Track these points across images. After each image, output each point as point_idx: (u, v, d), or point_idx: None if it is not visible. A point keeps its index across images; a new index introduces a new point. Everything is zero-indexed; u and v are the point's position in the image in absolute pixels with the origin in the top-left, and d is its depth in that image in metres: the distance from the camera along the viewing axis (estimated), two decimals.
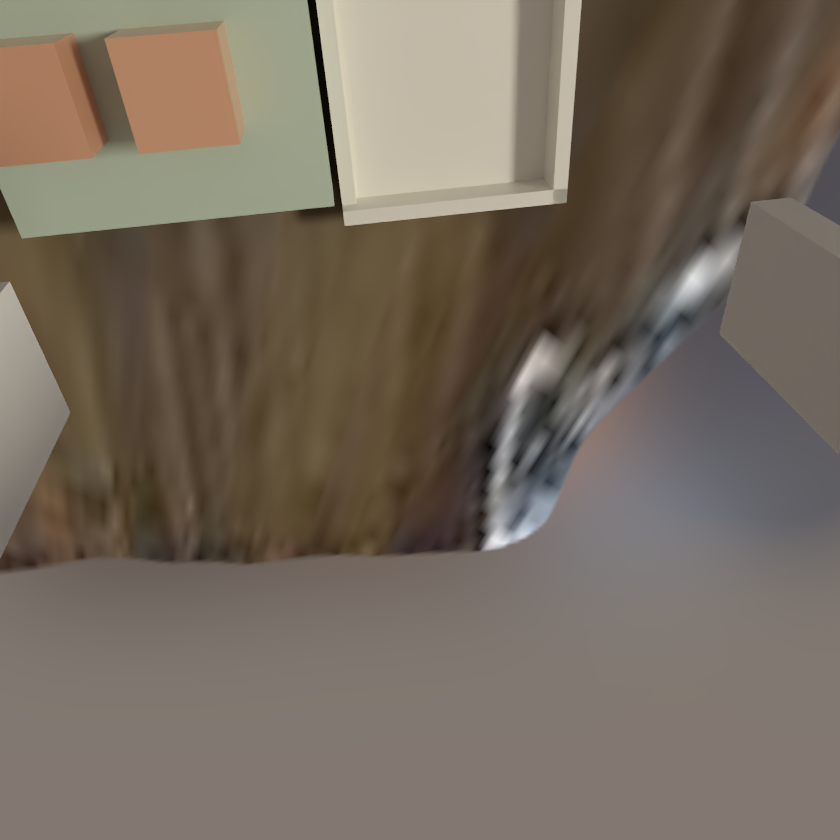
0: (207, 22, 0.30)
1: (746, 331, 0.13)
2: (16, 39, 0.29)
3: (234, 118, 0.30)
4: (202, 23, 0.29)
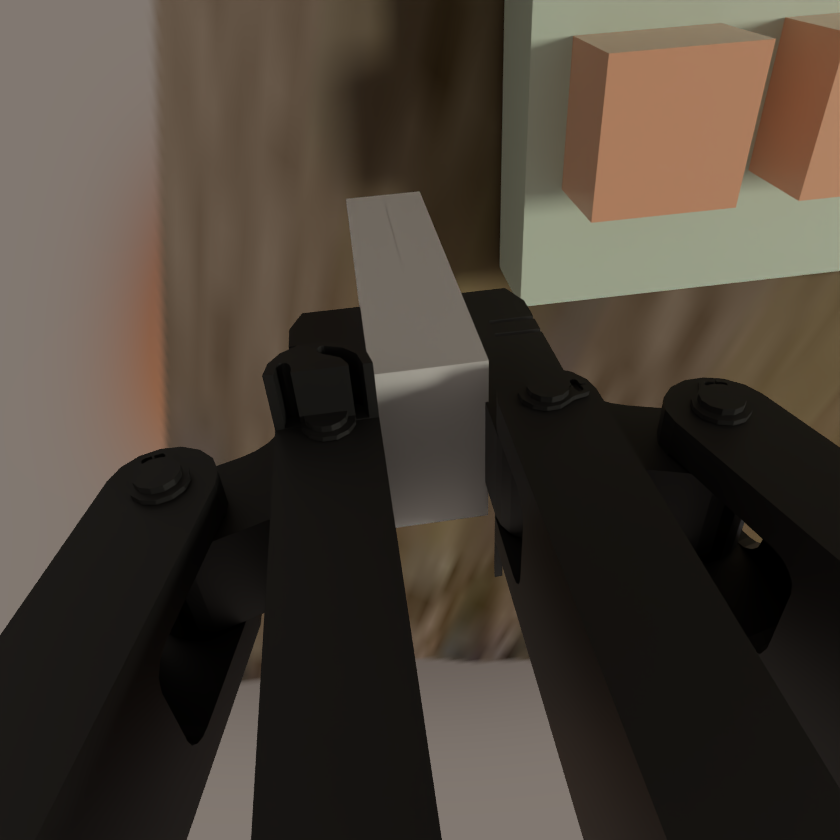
0: None
1: None
2: (657, 32, 0.19)
3: None
4: None
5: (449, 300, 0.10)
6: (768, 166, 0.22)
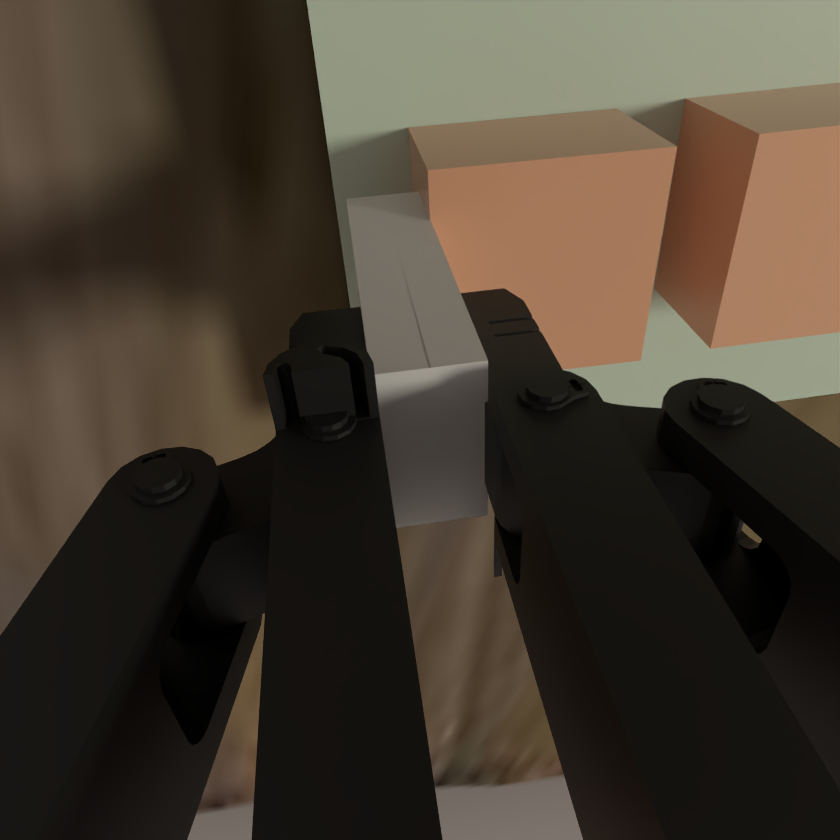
0: None
1: None
2: (522, 125, 0.14)
3: None
4: None
5: (449, 300, 0.10)
6: (675, 291, 0.16)
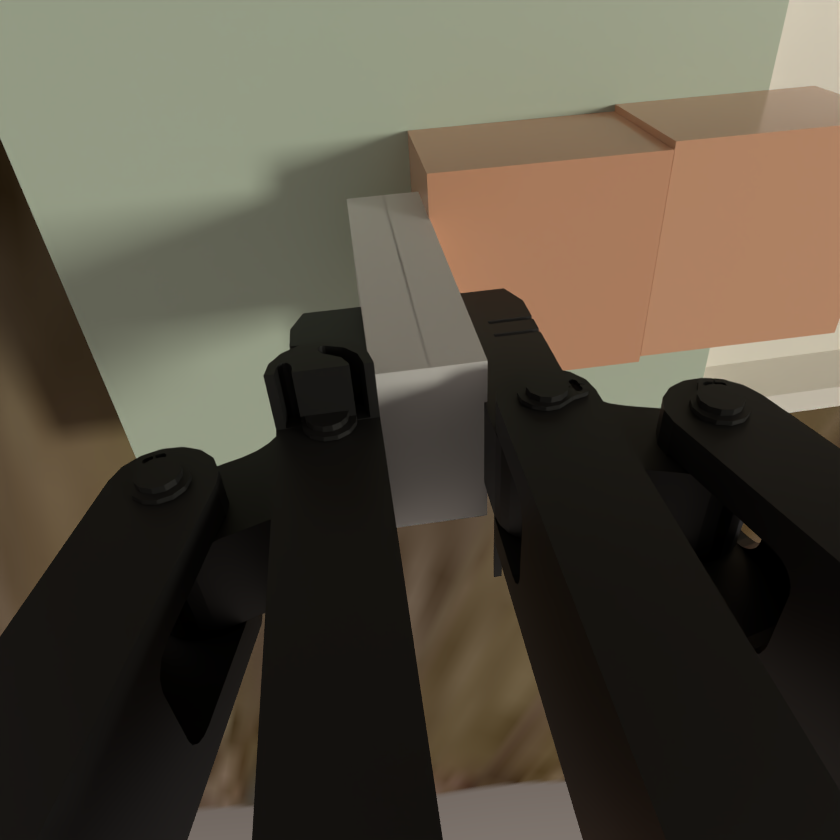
0: (790, 90, 0.14)
1: None
2: (520, 128, 0.14)
3: None
4: (788, 93, 0.14)
5: (448, 301, 0.10)
6: None
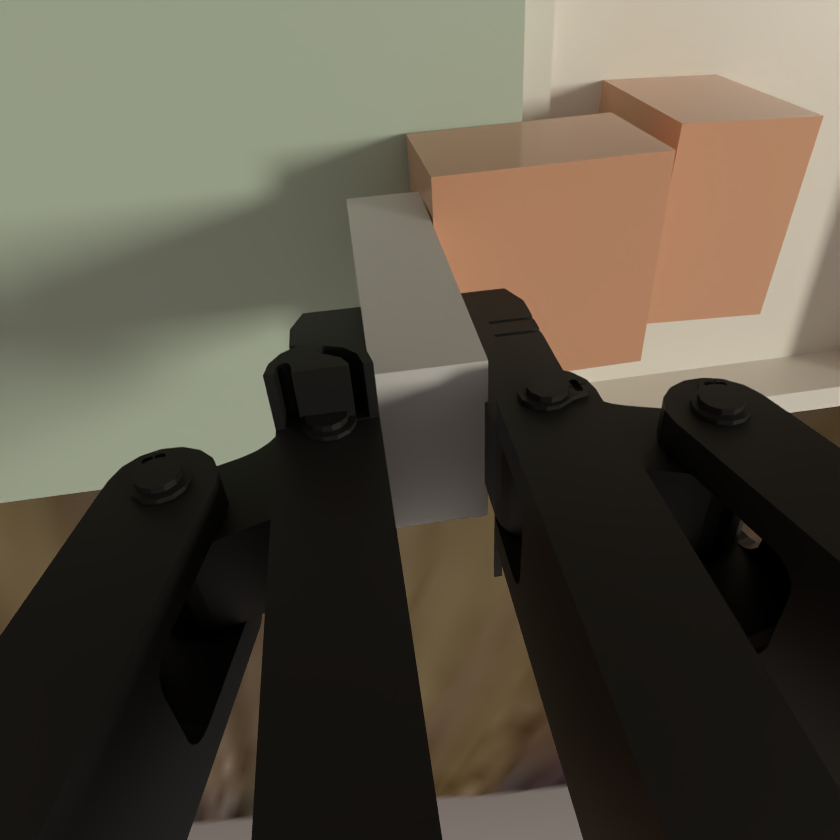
0: (622, 84, 0.16)
1: None
2: (519, 130, 0.14)
3: None
4: (634, 85, 0.16)
5: (448, 300, 0.10)
6: (687, 303, 0.16)
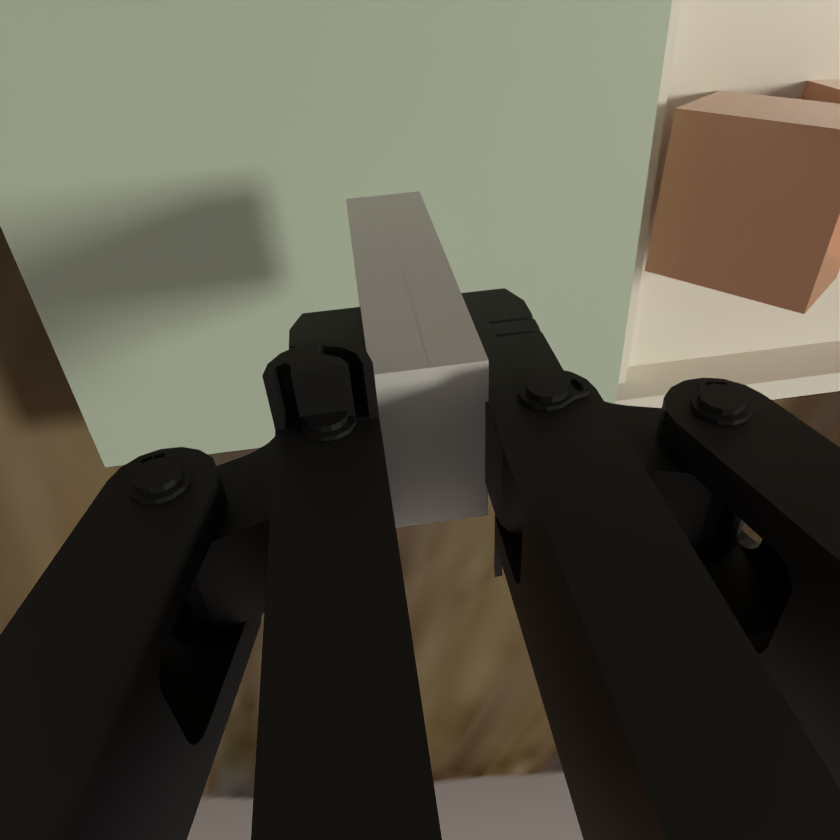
0: None
1: None
2: (796, 103, 0.18)
3: None
4: None
5: (449, 300, 0.10)
6: None
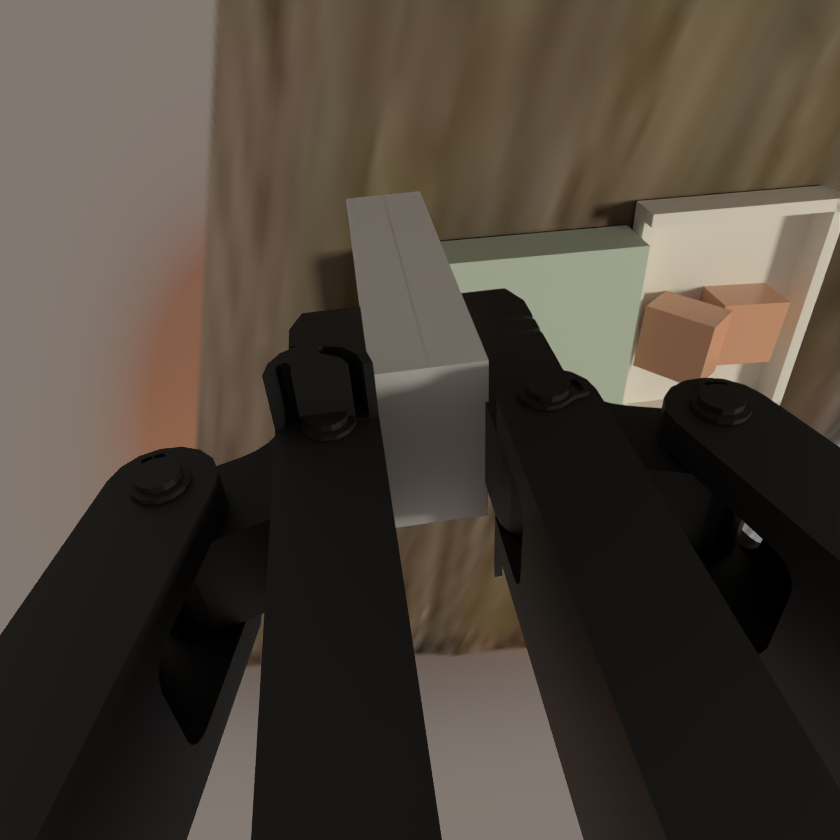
0: (734, 303, 0.43)
1: None
2: (695, 303, 0.44)
3: None
4: (735, 302, 0.43)
5: (449, 300, 0.10)
6: None
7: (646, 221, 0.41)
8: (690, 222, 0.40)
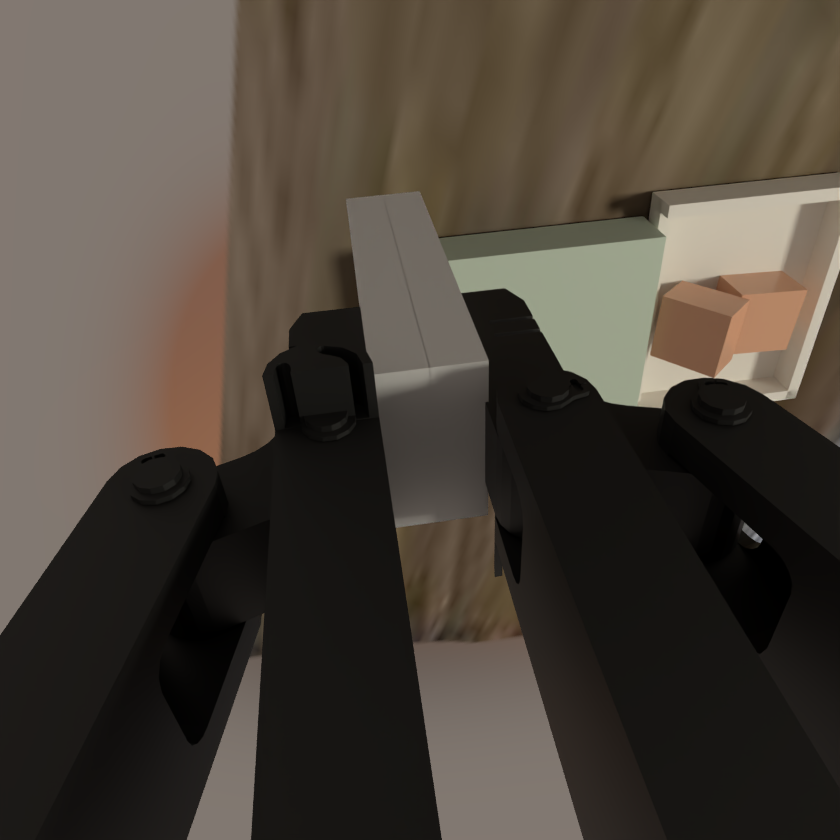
0: (750, 292, 0.43)
1: None
2: (711, 293, 0.44)
3: None
4: (751, 290, 0.44)
5: (449, 300, 0.10)
6: None
7: (662, 212, 0.41)
8: (706, 212, 0.41)
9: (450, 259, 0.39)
